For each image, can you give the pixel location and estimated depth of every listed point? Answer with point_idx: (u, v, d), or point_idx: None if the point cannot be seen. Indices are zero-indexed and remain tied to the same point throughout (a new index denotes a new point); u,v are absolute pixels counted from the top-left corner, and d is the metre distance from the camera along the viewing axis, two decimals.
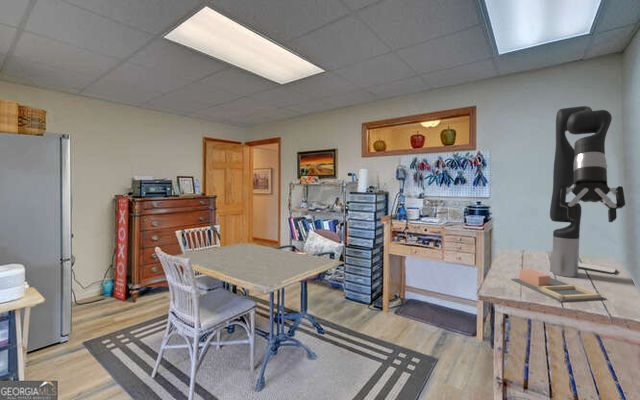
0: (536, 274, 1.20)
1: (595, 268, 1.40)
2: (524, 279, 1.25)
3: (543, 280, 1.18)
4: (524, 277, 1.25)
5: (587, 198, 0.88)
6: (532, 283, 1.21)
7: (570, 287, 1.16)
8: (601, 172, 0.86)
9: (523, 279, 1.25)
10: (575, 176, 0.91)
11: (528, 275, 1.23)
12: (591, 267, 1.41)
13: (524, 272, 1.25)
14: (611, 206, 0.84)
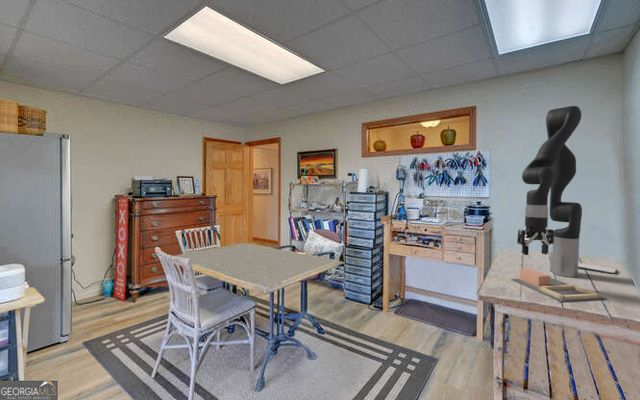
0: (536, 274, 1.20)
1: (595, 268, 1.40)
2: (524, 279, 1.25)
3: (543, 280, 1.18)
4: (524, 277, 1.25)
5: (535, 239, 1.21)
6: (532, 283, 1.21)
7: (570, 287, 1.16)
8: (547, 221, 1.19)
9: (523, 279, 1.25)
10: (530, 222, 1.20)
11: (528, 275, 1.23)
12: (591, 267, 1.41)
13: (524, 272, 1.25)
14: (547, 244, 1.21)
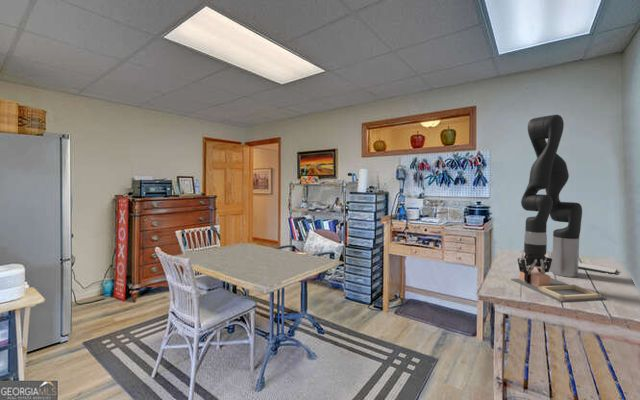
0: (536, 274, 1.20)
1: (596, 268, 1.40)
2: None
3: (543, 280, 1.18)
4: None
5: (534, 265, 1.21)
6: (532, 283, 1.21)
7: (570, 287, 1.16)
8: (546, 248, 1.19)
9: (523, 279, 1.25)
10: (529, 249, 1.20)
11: None
12: (592, 267, 1.41)
13: None
14: (542, 272, 1.22)
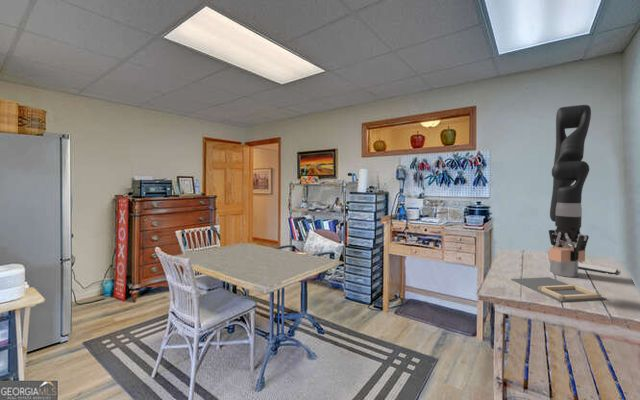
0: (558, 248, 1.12)
1: (596, 268, 1.39)
2: None
3: (553, 253, 1.11)
4: None
5: (562, 239, 1.12)
6: None
7: (570, 287, 1.16)
8: (566, 221, 1.08)
9: None
10: None
11: None
12: (592, 267, 1.41)
13: None
14: (571, 250, 1.08)
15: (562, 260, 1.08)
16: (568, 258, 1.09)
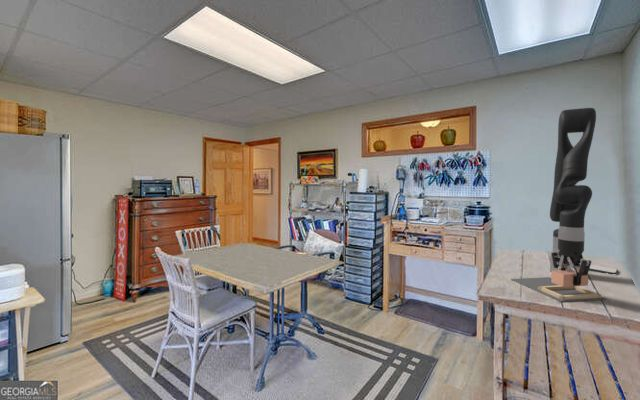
0: (560, 271, 1.12)
1: (596, 268, 1.39)
2: None
3: (556, 276, 1.11)
4: None
5: (565, 263, 1.11)
6: None
7: (570, 287, 1.16)
8: (568, 245, 1.08)
9: None
10: None
11: None
12: (592, 267, 1.41)
13: None
14: (574, 274, 1.08)
15: (564, 284, 1.08)
16: (571, 282, 1.08)
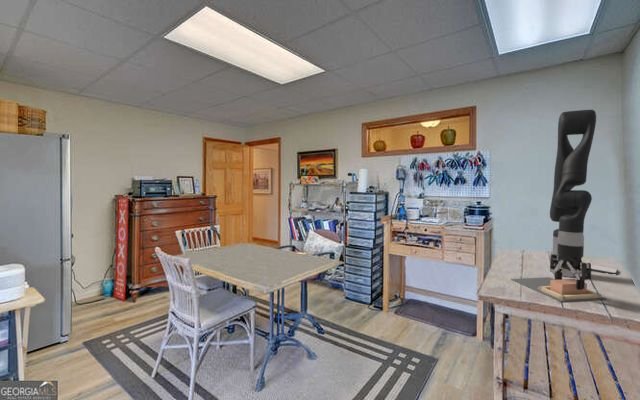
0: (559, 280, 1.12)
1: (596, 268, 1.39)
2: None
3: (555, 286, 1.11)
4: None
5: (565, 268, 1.12)
6: None
7: None
8: (568, 250, 1.08)
9: None
10: None
11: None
12: (592, 267, 1.41)
13: None
14: (577, 278, 1.07)
15: (563, 294, 1.09)
16: (569, 292, 1.09)
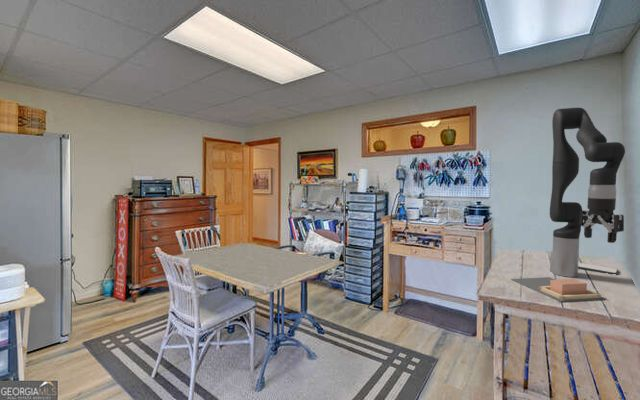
0: (559, 280, 1.12)
1: (597, 268, 1.39)
2: None
3: (555, 286, 1.11)
4: None
5: (595, 222, 1.10)
6: None
7: None
8: (599, 203, 1.07)
9: None
10: None
11: None
12: (593, 267, 1.41)
13: None
14: (609, 231, 1.05)
15: (563, 294, 1.09)
16: (569, 292, 1.09)
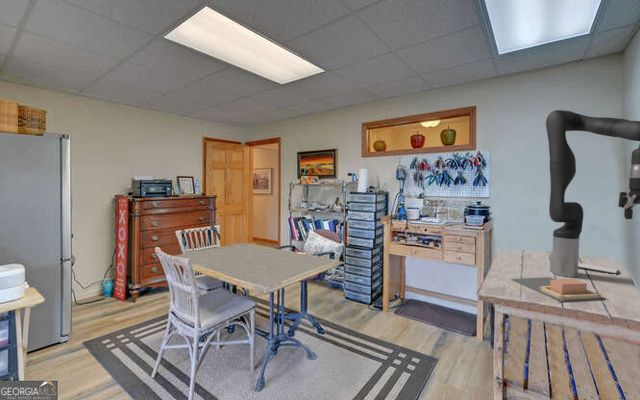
0: (559, 280, 1.12)
1: (597, 268, 1.39)
2: None
3: (555, 286, 1.11)
4: None
5: (637, 202, 1.09)
6: None
7: None
8: None
9: None
10: None
11: None
12: (593, 267, 1.41)
13: None
14: None
15: (563, 294, 1.09)
16: (569, 292, 1.09)
